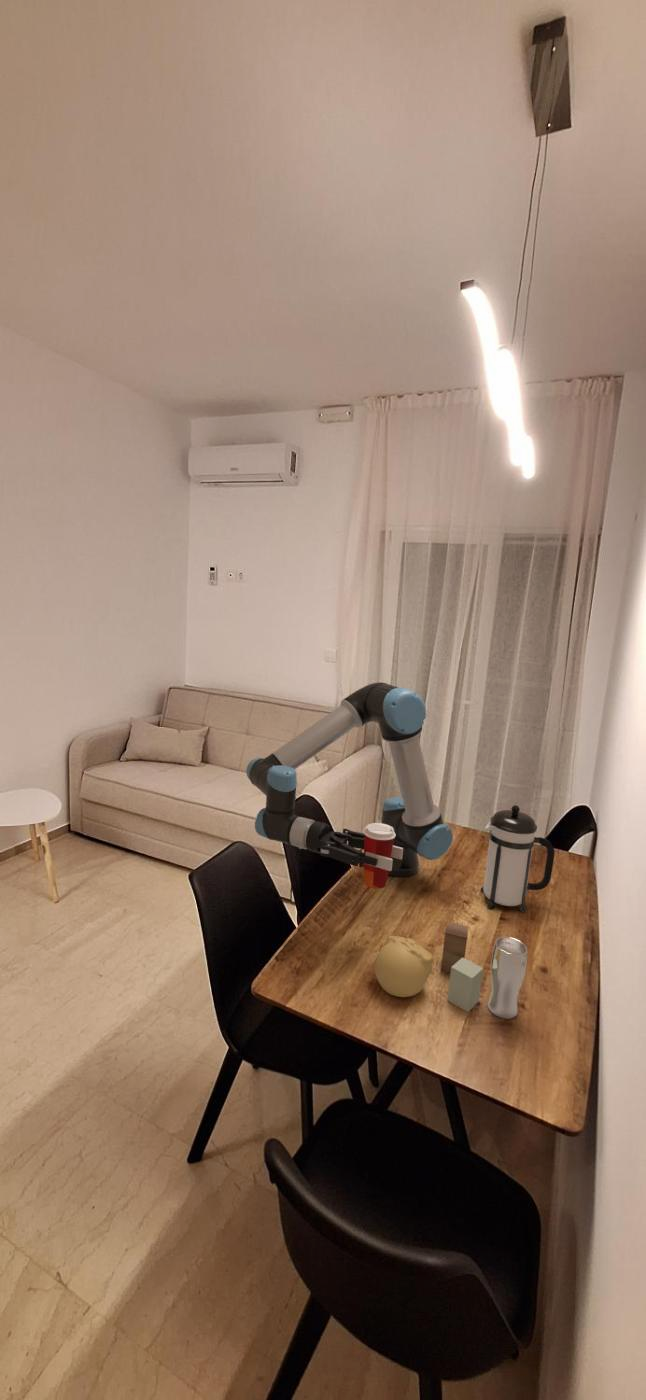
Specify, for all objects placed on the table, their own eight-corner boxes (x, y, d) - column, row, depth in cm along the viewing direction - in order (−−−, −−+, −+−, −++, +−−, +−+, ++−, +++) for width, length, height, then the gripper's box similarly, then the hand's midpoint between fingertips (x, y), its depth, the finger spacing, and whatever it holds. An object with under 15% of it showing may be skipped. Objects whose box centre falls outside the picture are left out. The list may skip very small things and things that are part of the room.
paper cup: (392, 879, 139) (398, 825, 137) (387, 893, 132) (393, 837, 130) (361, 872, 141) (366, 819, 139) (355, 886, 134) (360, 831, 132)
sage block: (458, 989, 127) (462, 957, 125) (478, 1001, 123) (483, 968, 122) (447, 1000, 123) (451, 966, 122) (467, 1012, 120) (472, 978, 118)
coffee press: (512, 922, 156) (526, 820, 151) (466, 896, 169) (478, 801, 164) (547, 906, 167) (562, 810, 162) (502, 883, 179) (514, 792, 174)
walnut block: (442, 959, 137) (447, 921, 136) (463, 964, 136) (468, 926, 134) (440, 971, 133) (445, 932, 131) (462, 977, 131) (467, 937, 129)
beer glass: (524, 1009, 122) (533, 946, 119) (511, 1025, 117) (520, 960, 114) (494, 993, 126) (502, 932, 124) (479, 1008, 121) (488, 944, 119)
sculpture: (437, 988, 126) (442, 944, 125) (404, 1012, 118) (409, 966, 116) (397, 963, 134) (401, 921, 133) (363, 984, 126) (367, 940, 124)
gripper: (327, 836, 153) (408, 859, 142) (291, 863, 135) (380, 891, 125) (329, 810, 151) (411, 831, 141) (293, 833, 134) (383, 859, 124)
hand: (396, 859), depth 133 cm, fingers closed on paper cup, 7 cm apart
